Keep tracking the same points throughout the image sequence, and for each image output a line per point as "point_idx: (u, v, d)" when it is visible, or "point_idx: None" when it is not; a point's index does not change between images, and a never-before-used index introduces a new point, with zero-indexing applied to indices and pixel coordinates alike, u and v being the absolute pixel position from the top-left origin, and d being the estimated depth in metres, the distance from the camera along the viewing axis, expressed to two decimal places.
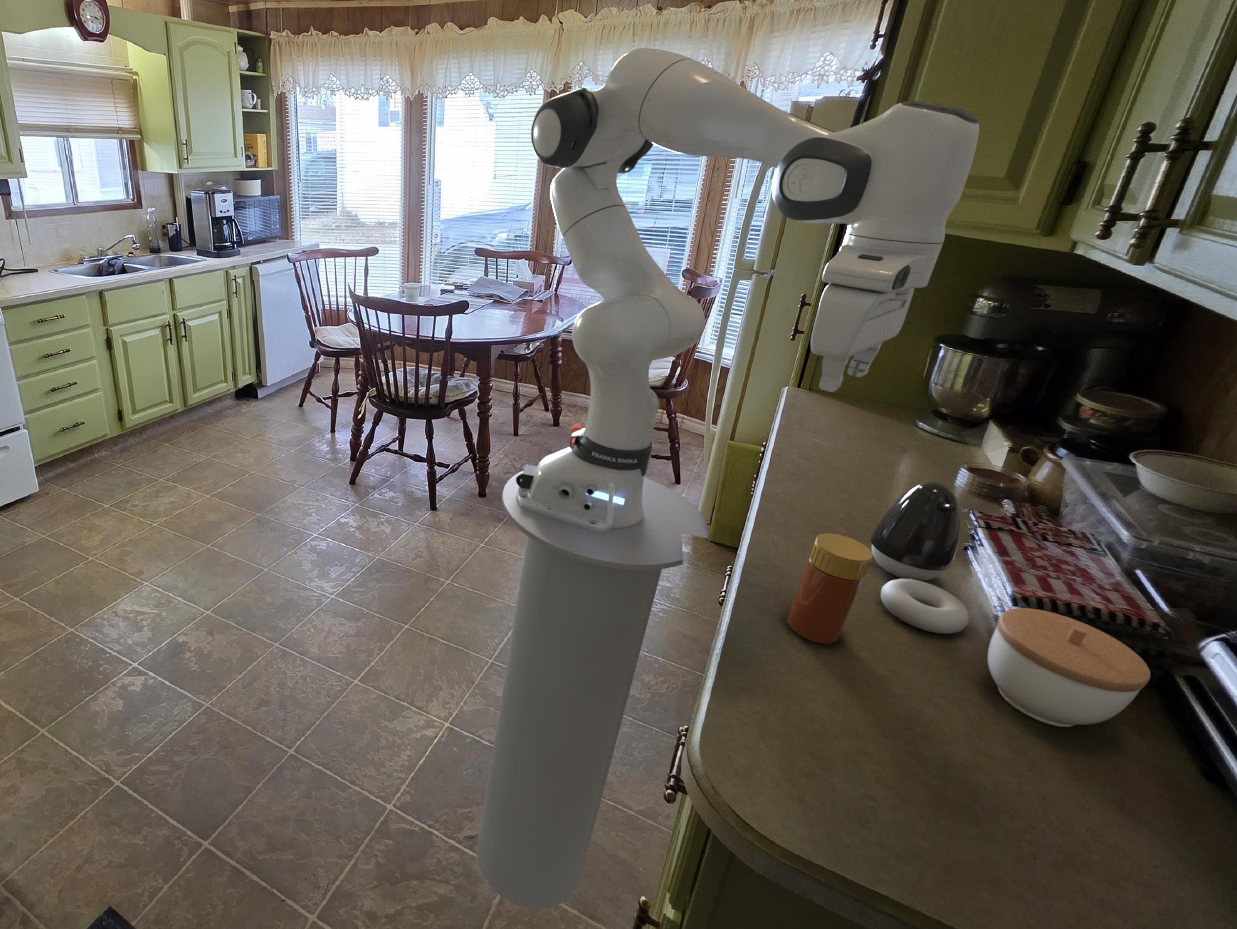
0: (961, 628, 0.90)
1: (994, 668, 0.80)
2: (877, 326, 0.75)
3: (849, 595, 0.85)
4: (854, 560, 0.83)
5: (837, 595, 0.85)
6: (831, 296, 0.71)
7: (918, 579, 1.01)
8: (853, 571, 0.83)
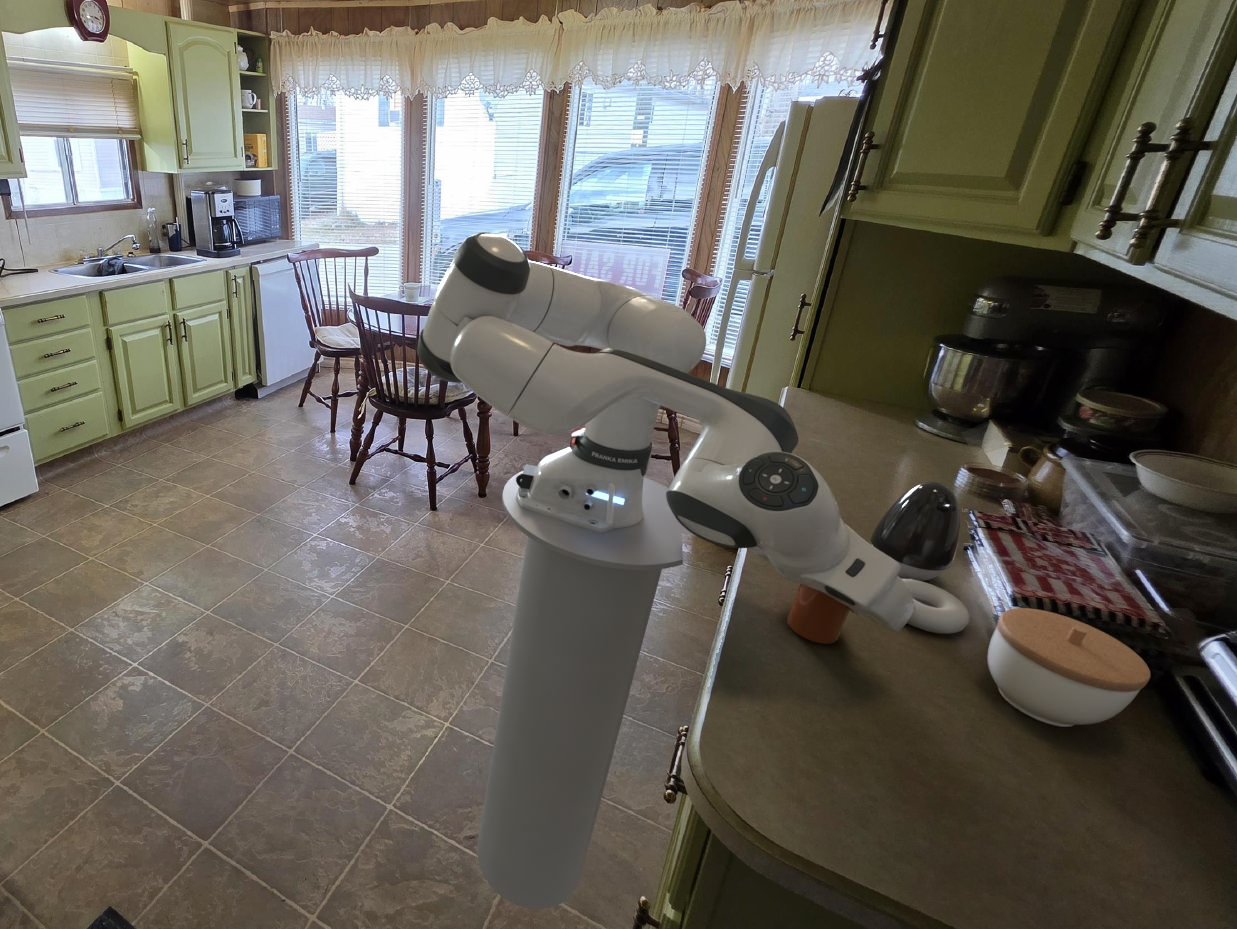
0: (961, 628, 0.90)
1: (994, 668, 0.80)
2: None
3: None
4: None
5: None
6: (884, 609, 0.75)
7: (918, 579, 1.01)
8: None
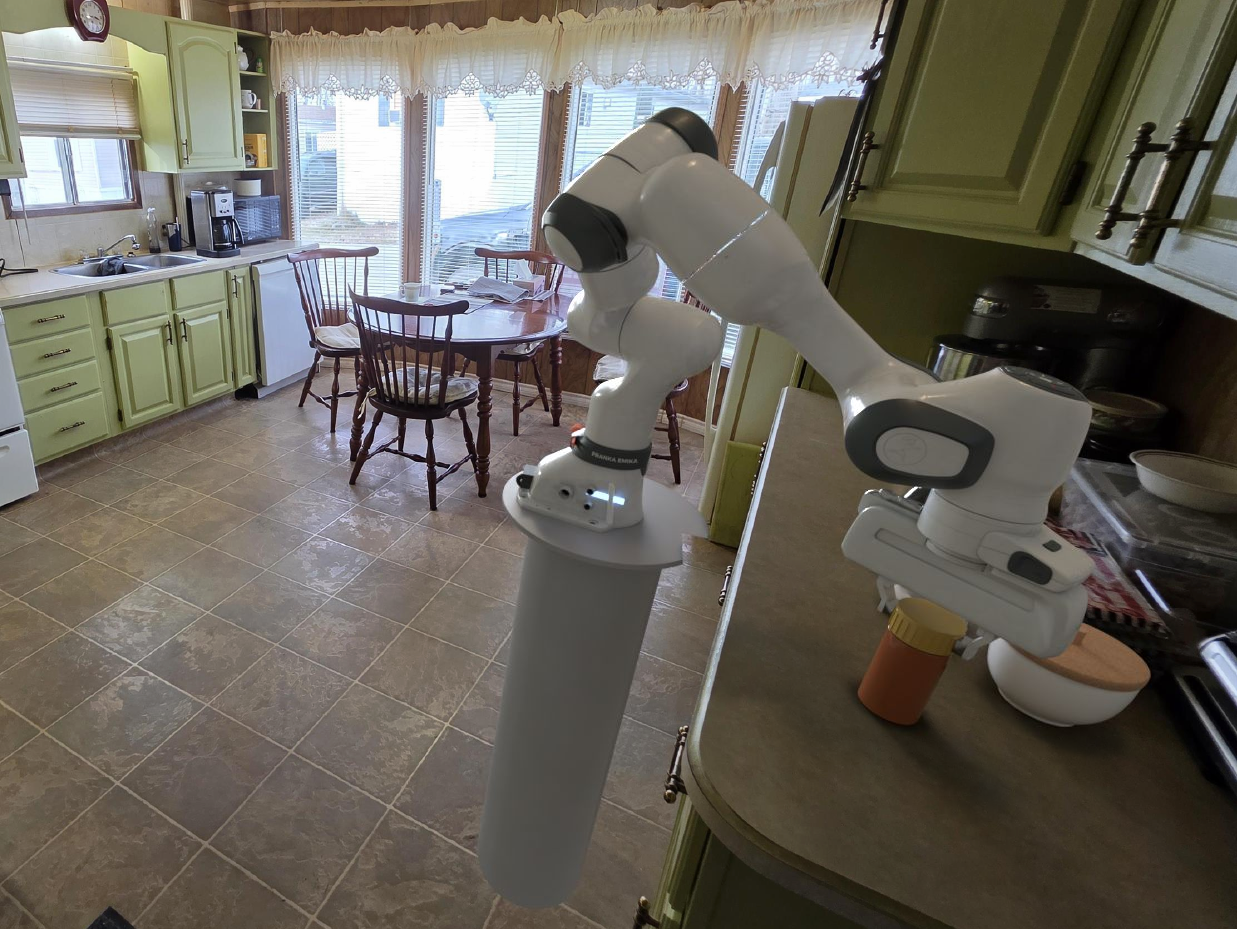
0: None
1: (994, 668, 0.80)
2: None
3: (938, 672, 0.73)
4: (947, 634, 0.70)
5: (923, 672, 0.73)
6: (1071, 605, 0.62)
7: None
8: (945, 646, 0.71)
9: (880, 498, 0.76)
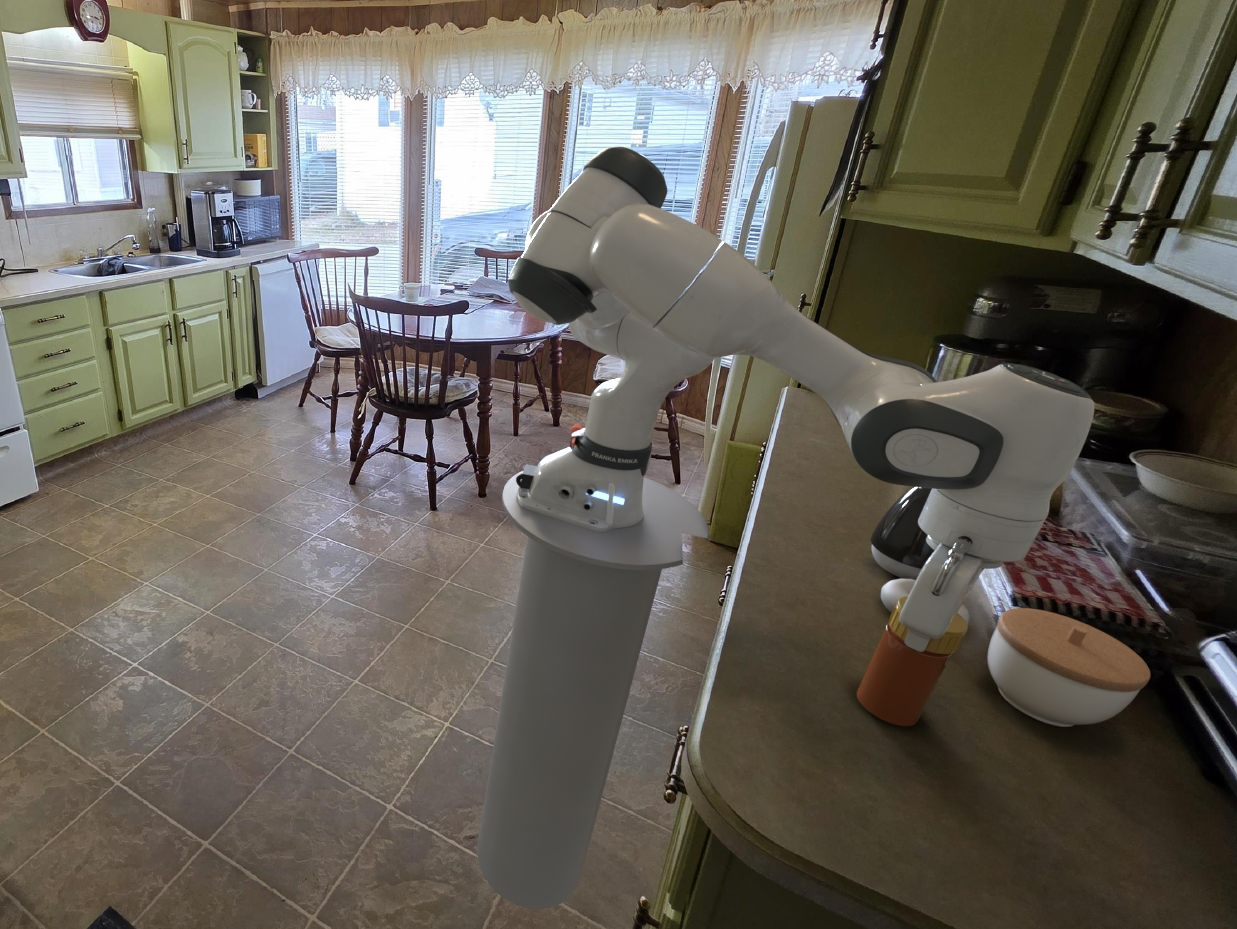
0: None
1: (994, 668, 0.80)
2: None
3: (939, 672, 0.73)
4: (958, 615, 0.73)
5: (926, 674, 0.73)
6: None
7: None
8: None
9: (955, 563, 0.63)
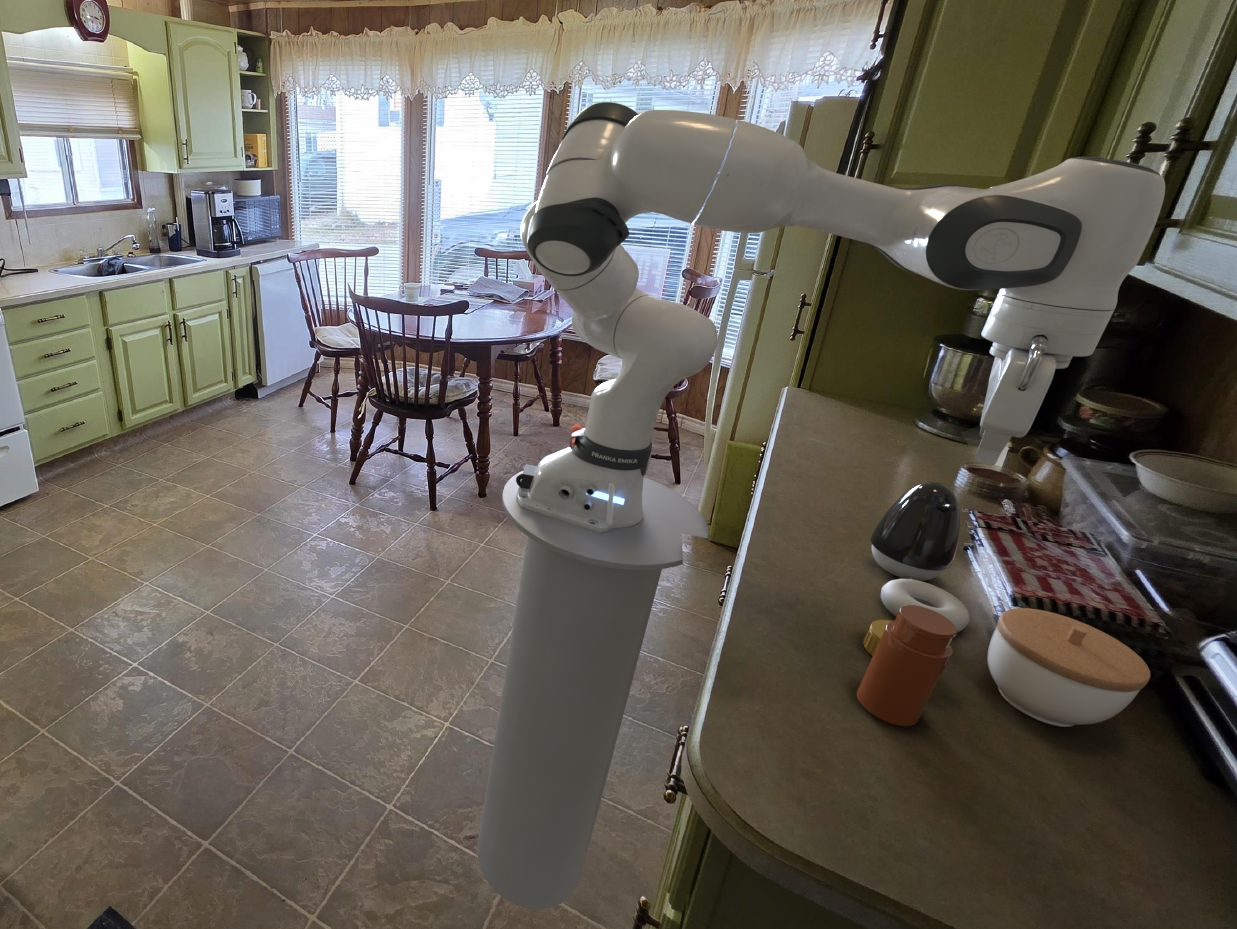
0: (961, 628, 0.90)
1: (994, 668, 0.80)
2: (993, 379, 0.74)
3: (939, 672, 0.73)
4: None
5: (926, 674, 0.73)
6: None
7: (918, 579, 1.01)
8: None
9: (1040, 356, 0.64)
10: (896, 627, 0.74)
